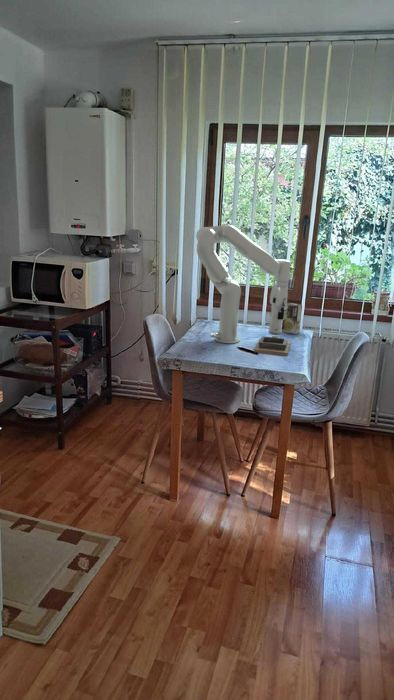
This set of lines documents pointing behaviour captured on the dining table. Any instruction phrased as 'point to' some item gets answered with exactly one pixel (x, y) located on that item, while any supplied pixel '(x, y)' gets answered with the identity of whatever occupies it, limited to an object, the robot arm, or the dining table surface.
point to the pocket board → (273, 345)
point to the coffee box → (292, 318)
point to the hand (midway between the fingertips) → (276, 317)
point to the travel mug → (275, 320)
